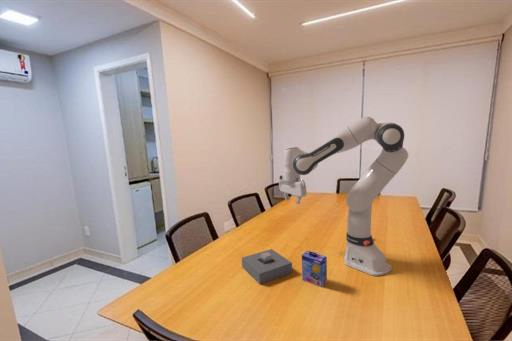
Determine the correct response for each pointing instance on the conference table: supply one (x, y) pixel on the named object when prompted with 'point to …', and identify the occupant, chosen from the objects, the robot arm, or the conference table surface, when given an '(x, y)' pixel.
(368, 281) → the conference table surface
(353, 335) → the conference table surface
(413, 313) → the conference table surface
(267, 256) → the peg
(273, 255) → the socket block
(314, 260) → the ink cartridge box
